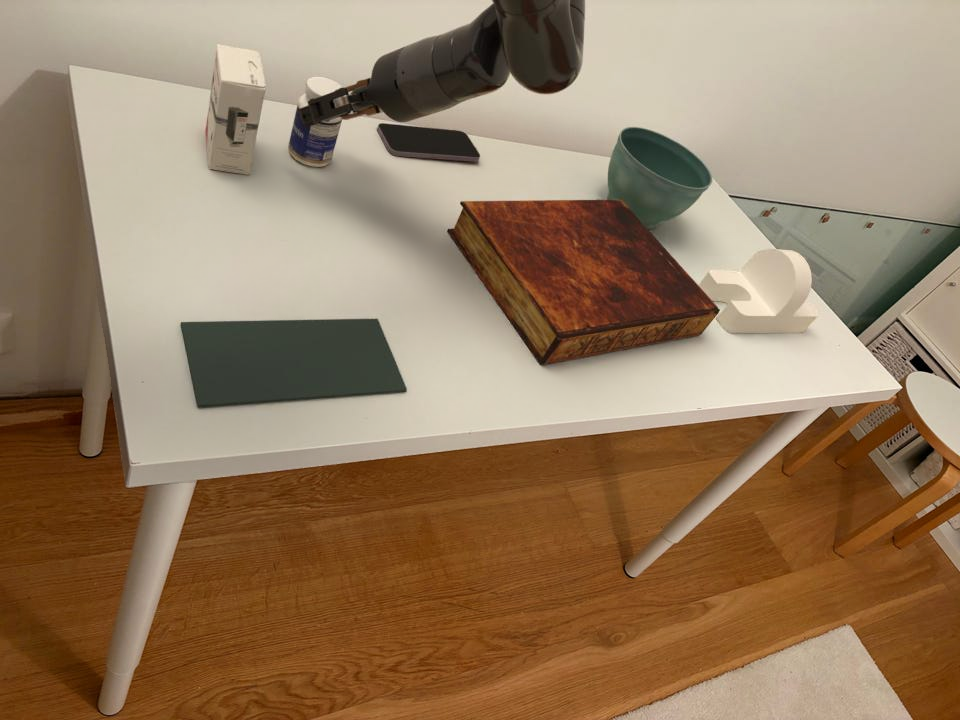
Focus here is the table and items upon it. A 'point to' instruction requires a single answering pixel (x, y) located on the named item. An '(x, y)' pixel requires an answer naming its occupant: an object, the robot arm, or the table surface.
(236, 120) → the ink box
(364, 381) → the mat
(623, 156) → the green bowl
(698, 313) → the book
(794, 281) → the white slotted holder
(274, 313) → the table surface
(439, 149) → the smartphone
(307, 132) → the pill bottle
